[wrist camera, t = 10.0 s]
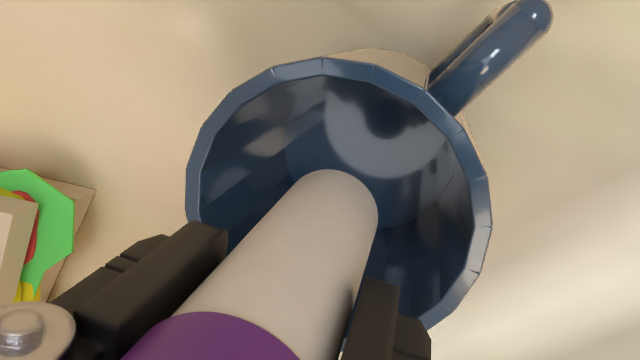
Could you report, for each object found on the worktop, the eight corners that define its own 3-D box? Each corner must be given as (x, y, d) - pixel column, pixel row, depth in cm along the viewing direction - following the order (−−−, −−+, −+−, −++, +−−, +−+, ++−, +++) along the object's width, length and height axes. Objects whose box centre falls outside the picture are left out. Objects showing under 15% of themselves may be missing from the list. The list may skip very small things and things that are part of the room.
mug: (369, 266, 24) (332, 399, 15) (244, 144, 24) (132, 208, 15) (580, 90, 20) (700, 135, 11) (430, -65, 19) (426, -149, 10)
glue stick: (274, 243, 15) (36, 553, 6) (293, 152, 14) (39, 366, 5) (367, 273, 14) (259, 656, 5) (394, 181, 13) (315, 472, 4)
